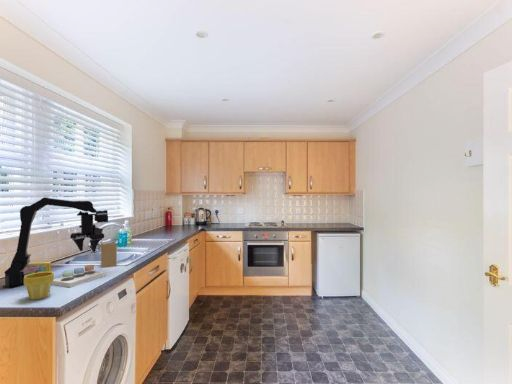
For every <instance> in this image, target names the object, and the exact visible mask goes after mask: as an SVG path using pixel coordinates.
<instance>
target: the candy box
mask: <svg viewBox="0 0 512 384" xmlns="http://www.w3.org/2000/svg"><path fill="white" fill-rule="evenodd" d="M22 272H24V274H25V276H26V275H29V274H33V273H39V272H52V262H51V261H47V262H44V261H42V262H40V261H39V262H37V261H36V262H29V263H28V264H27V266H26V267H25V268H24V269H23V270H22Z"/></svg>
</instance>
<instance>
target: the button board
mask: <svg viewBox="0 0 512 384" xmlns="http://www.w3.org/2000/svg"><path fill="white" fill-rule="evenodd" d="M105 276H106V272H105V271H99V270H90V271H85V270H84V272H83V273H80V274H74V273H73V276H70V277H62V276H60V277H57V278H54V280H53V281H52V283H51V285H53V286H58V287H64V288H72V287H76V286H78V285H82V284H84V283H87V282H89V281H94V280H96V278H97V279H99V277H100V278H103V277H105Z"/></svg>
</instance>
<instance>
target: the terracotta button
mask: <svg viewBox="0 0 512 384" xmlns="http://www.w3.org/2000/svg"><path fill="white" fill-rule="evenodd" d="M90 270H92V271H95V265H94V264H87V265H84V271H90Z"/></svg>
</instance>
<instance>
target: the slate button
mask: <svg viewBox="0 0 512 384" xmlns="http://www.w3.org/2000/svg"><path fill="white" fill-rule="evenodd" d="M84 271H85V267H77V268H74V269H73V274H80V273H83V272H84Z"/></svg>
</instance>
